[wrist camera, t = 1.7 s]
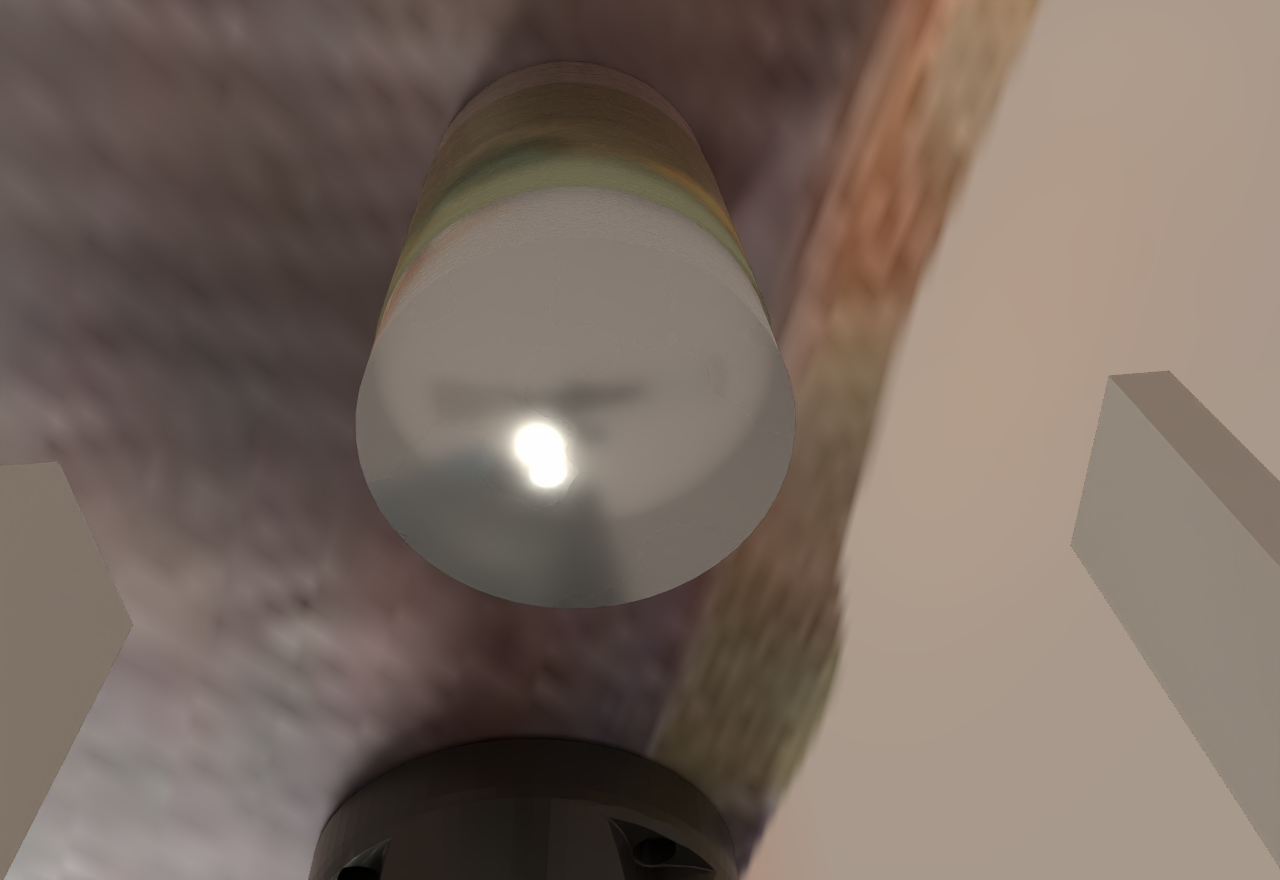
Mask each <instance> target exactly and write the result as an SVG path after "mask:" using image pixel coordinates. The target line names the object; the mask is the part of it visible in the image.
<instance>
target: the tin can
mask: <svg viewBox="0 0 1280 880" xmlns="http://www.w3.org/2000/svg"><path fill="white" fill-rule="evenodd" d="M795 427H796V423H795V403H794V397H793V392H792V387H791V383H790V378H789V375H788V372H787V370H786V367H785V364H784V362H783V359H782V356H781V354H780V351H779V349H778V346H777V343H776V341H775V338H774V336H773V333H772V329H771V324H770V319H769V315H768V312H767V310H766V307H765V304H764V302H763V299H762V296H761V294H760V291H759V288H758V286H757V283H756V281H755V278H754V276H753V273H752V271H751V268H750V266H749V263H748V261H747V258H746V256H745V253H744V251H743V248H742V246H741V243H740V240H739V238H738V235H737V233H736V230H735V228H734V225H733V223H732V220H731V218H730V215H729V213H728V210H727V208H726V205H725V203H724V200H723V198H722V195H721V193H720V190H719V188H718V185H717V182H716V180H715V177H714V175H713V172H712V170H711V168H710V166H709V165H708V163H707V161H706V159H705V157H704V155H703V153H702V151H701V148H700V146H699V143H698V141H697V140H696V138H695V136H694V134H693V132H692V130H691V129H690V127H689V125H688V124H687V123H686V121H685V120H684V119H683V117H682V116H681V115H680V113H679V112H678V111H677V110H676V109H675V108H674V107H673V106H672V105H671V104H670V103H669V101H668V100H667V99H666V98H664V97H663V96H662V95H661V94H659V93H658V92H657V91H656V90H654V89H653V88H652V87H650V86H649V85H647V84H645V83H644V82H642V81H640V80H639V79H637V78H635V77H633V76H631V75H629V74H626V73H624V72H621V71H619V70H617V69H614V68H610V67H606V66H602V65H599V64H593V63H585V62H578V61H569V62H551V63H544V64H537V65H534V66H531V67H527V68H524V69H520V70H518V71H515V72H513V73H511V74H509V75H506V76H504V77H502V78H500V79H498V80H497V81H495V82H494V83H492V84H490V85H489V86H487V87H486V88H484V89H483V90H482V91H481V92H479V93H478V94H477V95H476V96H475V97H474V98H472V99H471V100H470V101H469V102H468V103H467V104H466V105H465V107H464V108H463V109H462V110H461V111H460V112H459V113H458V114H457V116H456V117H455V119H454V120H453V122H452V123H451V125H450V126H449V128H448V129H447V131H446V133H445V135H444V137H443V139H442V141H441V143H440V146H439V148H438V151H437V154H436V157H435V159H434V161H433V163H432V166H431V168H430V170H429V172H428V174H427V176H426V179H425V182H424V185H423V188H422V191H421V194H420V197H419V200H418V203H417V206H416V209H415V212H414V215H413V218H412V221H411V224H410V227H409V230H408V233H407V236H406V239H405V241H404V244H403V247H402V250H401V253H400V256H399V259H398V262H397V265H396V268H395V271H394V274H393V277H392V280H391V283H390V286H389V289H388V292H387V295H386V298H385V301H384V304H383V307H382V310H381V314H380V317H379V320H378V323H377V328H376V335H375V341H374V345H373V348H372V351H371V354H370V357H369V360H368V363H367V366H366V369H365V373H364V376H363V379H362V382H361V385H360V388H359V394H358V401H357V408H356V443H357V449H358V455H359V461H360V465H361V468H362V471H363V474H364V477H365V480H366V483H367V486H368V488H369V490H370V492H371V494H372V496H373V498H374V500H375V502H376V504H377V506H378V508H379V509H380V511H381V512H382V514H383V515H384V516H385V518H386V519H387V521H388V522H389V524H390V525H391V526H392V528H393V529H394V530H395V531H396V532H397V533H398V535H399V536H400V537H401V538H402V539H403V540H404V541H405V542H406V543H407V544H408V545H409V547H411V548H412V549H413V550H414V551H415V552H417V553H418V554H419V555H420V556H421V557H422V558H424V559H425V560H426V561H427V562H428V563H430V564H431V565H433V566H434V567H436V568H437V569H439V570H440V571H442V572H444V573H445V574H447V575H448V576H450V577H452V578H454V579H456V580H457V581H459V582H461V583H463V584H465V585H467V586H469V587H471V588H474V589H476V590H479V591H482V592H484V593H487V594H490V595H492V596H495V597H498V598H502V599H506V600H510V601H513V602H517V603H521V604H528V605H534V606H540V607H548V608H566V609H579V608H599V607H606V606H613V605H620V604H625V603H629V602H633V601H637V600H642V599H646V598H649V597H652V596H655V595H657V594H660V593H663V592H666V591H669V590H671V589H673V588H676V587H678V586H680V585H682V584H684V583H686V582H688V581H690V580H692V579H694V578H696V577H697V576H699V575H701V574H702V573H704V572H706V571H707V570H709V569H710V568H712V567H714V566H715V565H716V564H718V563H719V562H720V561H722V560H723V559H724V558H725V557H727V556H728V555H729V554H731V553H732V552H733V551H734V550H735V549H736V548H737V547H738V546H739V545H740V544H741V543H742V542H743V541H744V540H745V539H746V538H747V537H748V536H749V535H750V534H751V533H752V532H753V531H754V529H755V528H756V527H757V526H758V524H759V523H760V522H761V521H762V519H763V518H764V517H765V515H766V514H767V512H768V510H769V509H770V507H771V505H772V504H773V502H774V500H775V499H776V497H777V495H778V493H779V491H780V489H781V486H782V484H783V481H784V479H785V477H786V474H787V471H788V468H789V464H790V460H791V456H792V452H793V446H794V437H795Z"/></svg>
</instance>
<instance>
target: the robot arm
mask: <svg viewBox="0 0 1280 880" xmlns="http://www.w3.org/2000/svg"><path fill="white" fill-rule="evenodd" d="M1071 547H1072V549H1073V550H1074V552H1075V553H1076V555H1077V556H1078V558H1079V559H1080V561H1081V562H1082V564H1083V566H1084V567H1085V568H1086V570H1087V572H1088V573H1089V575H1090V576H1091V578H1092V579H1093V581H1094V582H1095V584H1096V586H1097V587H1098V589H1099V590H1100V592H1101V593H1102V595H1103V596H1104V598H1105V599H1106V601H1107V603H1108V604H1109V606H1110V607H1111V609H1112V610H1113V612H1114V613H1115V615H1116V616H1117V618H1118V619H1119V621H1120V623H1121V624H1122V626H1123V627H1124V629H1125V630H1126V632H1127V633H1128V635H1129V636H1130V638H1131V640H1132V641H1133V643H1134V644H1135V646H1136V647H1137V649H1138V650H1139V652H1140V653H1141V655H1142V656H1143V658H1144V660H1145V661H1146V663H1147V664H1148V666H1149V667H1150V669H1151V670H1152V672H1153V673H1154V675H1155V677H1156V678H1157V679H1158V681H1159V683H1160V684H1161V686H1162V687H1163V689H1164V690H1165V692H1166V693H1167V695H1168V697H1169V698H1170V700H1171V701H1172V703H1173V704H1174V706H1175V707H1176V709H1177V710H1178V712H1179V714H1180V715H1181V717H1182V718H1183V720H1184V721H1185V723H1186V724H1187V725H1188V727H1189V729H1190V730H1191V732H1192V734H1193V735H1194V736H1195V738H1196V740H1197V741H1198V743H1199V744H1200V746H1201V747H1202V749H1203V751H1204V752H1205V753H1206V755H1207V757H1208V758H1209V760H1210V761H1211V763H1212V764H1213V766H1214V767H1215V769H1216V771H1217V772H1218V774H1219V775H1220V777H1221V778H1222V780H1223V781H1224V783H1225V784H1226V786H1227V788H1228V789H1229V790H1230V792H1231V794H1232V795H1233V797H1234V798H1235V800H1236V801H1237V803H1238V804H1239V806H1240V808H1241V809H1242V811H1243V812H1244V814H1245V815H1246V817H1247V818H1248V820H1249V821H1250V823H1251V824H1252V826H1253V827H1254V829H1255V831H1256V832H1257V834H1258V835H1259V837H1260V838H1261V840H1262V841H1263V843H1264V845H1265V846H1266V848H1267V849H1268V851H1269V852H1270V854H1271V855H1272V857H1273V858H1274V860H1275V861H1276V863H1277V865H1278V866H1279V868H1280V481H1279V480H1278V479H1277V478H1276V477H1275V476H1274V475H1273V474H1272V473H1271V472H1270V471H1269V470H1268V469H1267V468H1266V467H1264V465H1263V464H1262V463H1261V462H1260V461H1259V460H1258V459H1257V458H1256V457H1254V455H1253V454H1252V453H1250V451H1249V450H1248V449H1247V448H1246V447H1245V446H1244V445H1243V444H1242V443H1241V442H1240V441H1239V440H1238V439H1237V438H1236V437H1235V436H1234V435H1232V433H1231V432H1230V431H1229V430H1228V429H1227V428H1226V427H1225V426H1224V425H1223V424H1222V423H1221V422H1220V421H1219V420H1218V419H1216V417H1214V415H1212V413H1211V412H1210V411H1209V410H1208V409H1207V408H1205V406H1204V405H1203V404H1202V403H1201V402H1199V400H1198V399H1197V398H1195V396H1194V395H1193V394H1192V393H1191V392H1190V391H1189V390H1188V389H1186V387H1185V386H1184V385H1183V384H1182V383H1181V382H1180V381H1179V380H1177V378H1176V377H1175V376H1174V375H1173V374H1172V373H1171V372H1169V371H1161V372H1148V373H1136V374H1124V375H1111V376H1109V377H1108V381H1107V387H1106V390H1105V395H1104V399H1103V404H1102V408H1101V412H1100V417H1099V421H1098V426H1097V430H1096V435H1095V439H1094V444H1093V448H1092V452H1091V457H1090V461H1089V466H1088V470H1087V475H1086V479H1085V483H1084V488H1083V492H1082V497H1081V501H1080V506H1079V510H1078V515H1077V519H1076V523H1075V528H1074V532H1073V537H1072V541H1071ZM132 626H133V624H132V621H131V619H130V617H129V615H128V613H127V610H126V608H125V606H124V604H123V602H122V599H121V597H120V595H119V593H118V591H117V588H116V586H115V584H114V582H113V580H112V577H111V575H110V573H109V571H108V569H107V566H106V564H105V562H104V560H103V558H102V555H101V553H100V551H99V549H98V547H97V545H96V542H95V540H94V538H93V536H92V534H91V531H90V529H89V527H88V525H87V523H86V520H85V518H84V516H83V514H82V512H81V509H80V507H79V505H78V503H77V501H76V498H75V496H74V494H73V492H72V490H71V487H70V485H69V483H68V481H67V479H66V476H65V474H64V472H63V470H62V468H61V465H60V463H59V461H56V462H44V463H32V464H20V465H7V466H0V880H4V878H5V876H6V874H7V872H8V870H9V868H10V866H11V864H12V862H13V860H14V858H15V856H16V854H17V852H18V850H19V848H20V846H21V844H22V842H23V840H24V838H25V836H26V834H27V832H28V830H29V828H30V826H31V824H32V823H33V821H34V819H35V817H36V815H37V813H38V811H39V809H40V807H41V805H42V803H43V801H44V799H45V797H46V795H47V793H48V791H49V789H50V787H51V785H52V783H53V781H54V779H55V777H56V775H57V773H58V771H59V769H60V767H61V765H62V763H63V761H64V760H65V758H66V756H67V754H68V752H69V750H70V748H71V746H72V744H73V742H74V740H75V738H76V736H77V734H78V732H79V730H80V728H81V726H82V724H83V722H84V720H85V718H86V716H87V714H88V712H89V710H90V708H91V706H92V704H93V702H94V700H95V698H96V697H97V695H98V693H99V691H100V689H101V687H102V685H103V683H104V681H105V679H106V677H107V675H108V673H109V671H110V669H111V667H112V665H113V663H114V661H115V659H116V657H117V655H118V653H119V651H120V649H121V647H122V645H123V643H124V641H125V639H126V637H127V635H128V634H129V632H130V630H131V628H132ZM308 880H739V878H738V871H737V865H736V859H735V853H734V848H733V843H732V840H731V837H730V833H729V831H728V829H727V827H726V825H725V823H724V821H723V820H722V818H721V816H720V815H719V813H718V812H717V811H716V809H715V808H714V807H713V805H712V804H711V803H710V802H709V801H708V800H707V799H706V798H705V797H704V796H703V795H702V794H701V793H700V792H699V791H697V790H696V789H695V788H694V787H693V786H691V785H690V784H689V783H687V782H686V781H685V780H683V779H681V778H680V777H678V776H677V775H675V774H674V773H672V772H670V771H668V770H666V769H664V768H663V767H661V766H658V765H656V764H654V763H652V762H650V761H647V760H645V759H642V758H640V757H637V756H634V755H631V754H628V753H625V752H622V751H619V750H615V749H611V748H607V747H603V746H598V745H592V744H587V743H580V742H573V741H564V740H552V739H513V740H499V741H490V742H482V743H476V744H470V745H465V746H460V747H456V748H451V749H447V750H444V751H440V752H437V753H433V754H430V755H427V756H424V757H421V758H419V759H416V760H413V761H411V762H409V763H406V764H404V765H401V766H399V767H397V768H395V769H393V770H391V771H389V772H387V773H385V774H384V775H382V776H380V777H379V778H377V779H375V780H374V781H372V782H371V783H369V784H368V785H366V786H365V787H363V788H362V789H361V790H359V791H358V792H357V793H356V794H354V795H353V796H352V797H351V798H350V799H349V800H348V801H347V802H345V803H344V804H343V805H342V806H341V808H340V809H339V810H338V811H337V812H336V813H335V814H334V816H333V817H332V818H331V820H330V821H329V822H328V824H327V826H326V827H325V829H324V831H323V832H322V834H321V836H320V839H319V841H318V843H317V846H316V850H315V853H314V857H313V861H312V866H311V870H310V875H309V879H308Z"/></svg>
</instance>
